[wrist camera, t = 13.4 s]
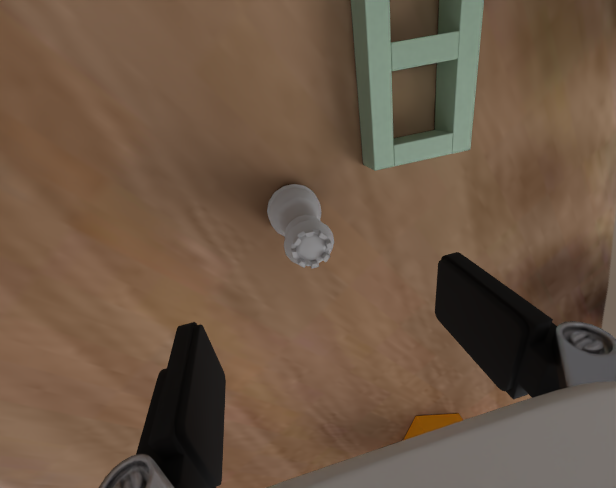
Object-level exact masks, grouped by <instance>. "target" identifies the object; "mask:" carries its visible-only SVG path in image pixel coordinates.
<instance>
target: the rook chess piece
mask: <svg viewBox="0 0 616 488" xmlns="http://www.w3.org/2000/svg"><path fill="white" fill-rule="evenodd" d="M267 213H268V217H269V221H270V222H271V225H272V226H273V228H274V229H275V230H276V231H277V232H278V233H279V234H281V235H283V236H284V237H285V242H284V248H285V253H286V255H287V256H288V257H289V259H290V260H291V261H292V262H294V263H296V264H298V265H300V266H302V267H305V266H311V268H316V267H319V265H318V263H320V262H321V261H323V260H324V261H325V262H326V261H327V260H328V259H329V258H330V255H329V254H330V252H331V251H332V248H333V244H334V238H333V233H332V232H331V230H330V229H329V227H328V226H327V225H325V224H324V223H322V222H321V221H320V218H321V207H320V203H319V201H318V198H317V197H316V195H315V194H314V192H313V191H312V190H310V189H309V188H307V187H306V186H303V185H297V184H292V185H287V186H283V187H282V188H280V189H279V190H277V191H276V192H275V193H274V194H273V196H272V197H271V199H270V200H269V203H268V209H267Z"/></svg>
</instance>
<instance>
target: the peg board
mask: <svg viewBox="0 0 616 488" xmlns="http://www.w3.org/2000/svg"><path fill="white" fill-rule="evenodd" d="M483 5H484V0H439V20H438V34H437V35H432V36H426V37H420V38H415V39H409V40H403V41H397V42H392V43H391V38H390V1H389V0H351V10H352V23H353V36H354V49H355V63H356V76H357V89H358V102H359V115H360V129H361V142H362V155H363V165H365V166H367V167H369V168H371V169H373V170H375V171H376V170H380V169H385V168H389V167H393V166H398V165H403V164H407V163H412V162H416V161H421V160H425V159H430V158H435V157H439V156H444V155H448V154H453V153H458V152H462V151H467V150H470V147H471V136H472V125H473V114H474V103H475V92H476V81H477V70H478V59H479V49H480V38H481V27H482V16H483ZM434 63H437V76H436V104H435V130H432V131H427V132H422V133H418V134H413V135H408V136H403V137H398V138H394V139H393V112H392V75H391V71H397V70H402V69H407V68H413V67H418V66H424V65H429V64H434Z"/></svg>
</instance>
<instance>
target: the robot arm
mask: <svg viewBox="0 0 616 488" xmlns="http://www.w3.org/2000/svg"><path fill="white" fill-rule="evenodd" d="M435 314H436V317H437V319H438V320H439V321H440V322H441V324H442V325H443V326H444V327H445V328H446V329H447V330H448V331H449V333H450V334H451V335H452V336H453V337H454V338H455V339H456V340H457V342H458V343H459V344H460V345H461V346H462V347H463V348H464V349H465V351H466V352H467V353H468V354H469V355H470V356H471V357H472V359H473V360H474V361H475V362H476V363H477V364H478V365H479V366H480V368H481V369H482V370H483V371H484V372H485V373H486V374H487V375H488V377H489V378H490V379H491V380H492V381H493V382H494V383H495V384H496V386H497V387H498V388H499V389H501V390H502V391H506V392H507V393H508V394H509V395H510V396H511V397H512V398H513V399H516V398H519V397H522V396H525V395H527V394H529V395H530V396H531V397H532V398H530V399H527V400H524V401H520V402H517V403H514V404H511V405H508V406H505V407H502V408H499V409H496V410H493V411H490V412H487V413H484V414H481V415H478V416H475V417H472V418H469V419H466V420H463V421H460V422H457V423H454V424H451V425H448V426H445V427H442V428H439V429H436V430H433V431H430V432H427V433H424V434H421V435H418V436H415V437H412V438H409V439H406V440H403V441H400V442H397V443H394V444H391V445H388V446H385V447H382V448H379V449H377V450H374V451H371V452H368V453H365V454H362V455H359V456H356V457H353V458H350V459H347V460H344V461H341V462H338V463H336V464H333V465H330V466H327V467H324V468H321V469H318V470H315V471H312V472H309V473H306V474H304V475H301V476H298V477H295V478H292V479H289V480H286V481H283V482H281V483H278V484H275V485H272V486H270V487H267V488H616V339H615V338H614V337H613V336H612V335H610V334H609V333H607V332H606V331H604V330H603V329H601V328H598V327H596V326H593V325H591V324H587V323H583V322H575V321H570V322H564V323H561V324H559V325H558V327H557V326H556V325H555V324H553V323H552V320H553V319H551V318H550V317H549V316H547V315H546V314H544V313H543V312H542V311H540V310H539V309H537V308H536V307H535V306H533V305H532V304H530V303H529V302H528V301H526V300H525V299H523V298H522V297H521V296H519V295H518V294H516V293H515V292H514V291H512V290H511V289H509V288H508V287H507V286H505V285H504V284H503V283H501V282H500V281H498V280H497V279H496V278H494V277H493V276H491V275H490V274H489V273H487V272H486V271H484V270H483V269H482V268H480V267H479V266H477V265H476V264H475V263H473V262H472V261H470V260H469V259H468V258H466V257H465V256H463V255H462V254H461V253H459V252H456V253H452V254H448V255H445V256H443V257H442V259H441V260H440V261H439V263H438V275H437V289H436V303H435ZM225 385H226V380H225V374H224V371H223V369H222V367H221V365H220V362H219V360H218V358H217V356H216V354H215V351H214V349H213V347H212V345H211V343H210V340H209V338H208V336H207V334H206V332H205V330H204V327H203V326H202V325H197V323H195V322H193V323H189V324H185V325H181V326H179V327H178V328H177V331H176V335H175V339H174V343H173V347H172V351H171V355H170V359H169V362H168V366H167V369H163V370H161V371H160V373H159V375H158V378H157V382H156V385H155V389H154V392H153V396H152V400H151V403H150V407H149V410H148V414H147V417H146V421H145V425H144V428H143V432H142V435H141V439H140V442H139V446H138V450H137V453H136V455H133V456H131V457H129V458H127V459H125V460H123V461H122V462H121V463H119V464H118V465H117V466H115V467H114V468H113V469H112V470H111V471H110V473H109V474H108V475H107V476H106V477H105V479H104V480H103V482H102V483H101V485H100V486H99V488H216V486H219V485H220V484H221V481H222V460H223V435H224V410H225Z"/></svg>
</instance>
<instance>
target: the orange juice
mask: <svg viewBox="0 0 616 488" xmlns="http://www.w3.org/2000/svg"><path fill="white" fill-rule="evenodd" d="M460 421H463V419H462V418H461V416H460V415H459V413H458V414H441V415H425V416H416V417H415V419H414V420H413V422H412V424H411V426H410V428H409V430H408V432H407V434H406V436H405V438H404V440H406V439H409V438H412V437H415V436H418V435H421V434H424V433H427V432H430V431H433V430H436V429H439V428H442V427H445V426H448V425H451V424H454V423H457V422H460Z"/></svg>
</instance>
